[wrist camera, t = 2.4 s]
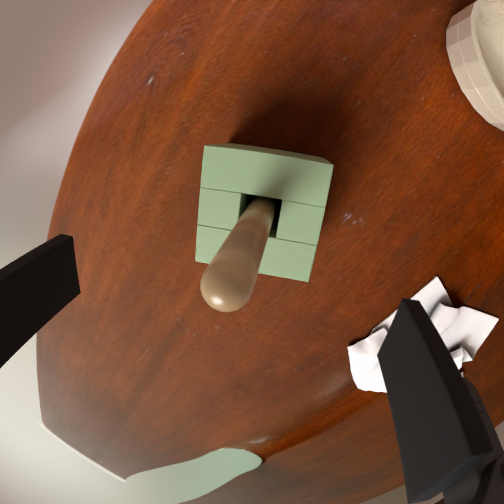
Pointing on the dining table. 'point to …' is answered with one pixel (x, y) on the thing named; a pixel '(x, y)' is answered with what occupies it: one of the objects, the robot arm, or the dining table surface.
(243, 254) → the stick
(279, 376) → the dining table surface
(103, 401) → the dining table surface
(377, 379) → the cloth
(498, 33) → the bowl
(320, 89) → the dining table surface
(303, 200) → the stand
